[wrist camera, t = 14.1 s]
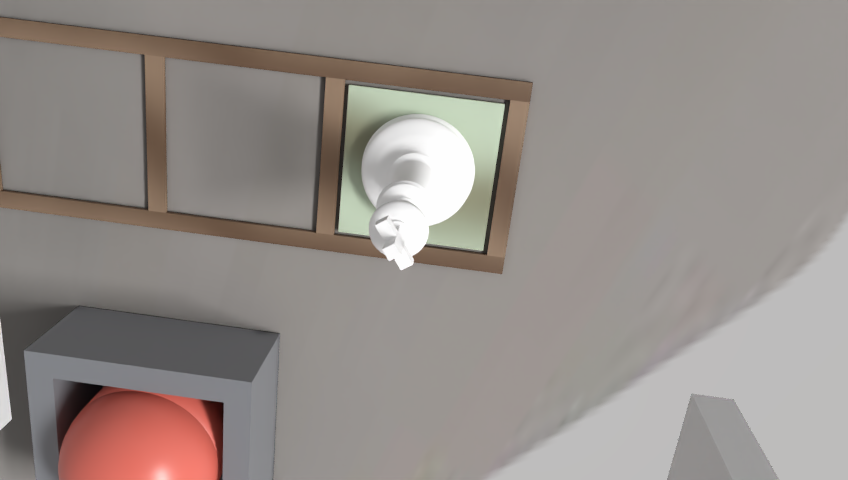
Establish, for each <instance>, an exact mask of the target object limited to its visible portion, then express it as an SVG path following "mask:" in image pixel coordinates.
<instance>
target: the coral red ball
mask: <svg viewBox="0 0 848 480" xmlns="http://www.w3.org/2000/svg"><path fill="white" fill-rule="evenodd" d="M223 418H224V403H223V402H216V401H209V400H202V399H195V398H187V397H180V396H173V395H166V394H159V393H152V392H145V391H138V390H131V389H124V388H117V387H110V386H103V388H102V389H101V390H100V391H99V392H98V393H97V394H96V395H95V396H94V397H93V398H92V399H91V400H90V402H89V403H88V404H87V405H86V406H85V407H84V408H83V409H82V410H81V411H80V413H79V414H78V415H77V417H76V418H75V419H74V420H73V422H72V423H71V425H70V427H69V429H68V431H67V433H66V435H65V437H64V440H63V443H62V446H61V449H60V454H59V461H58V475H59V480H219V479H220V477H221V475H222V473H223Z"/></svg>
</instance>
